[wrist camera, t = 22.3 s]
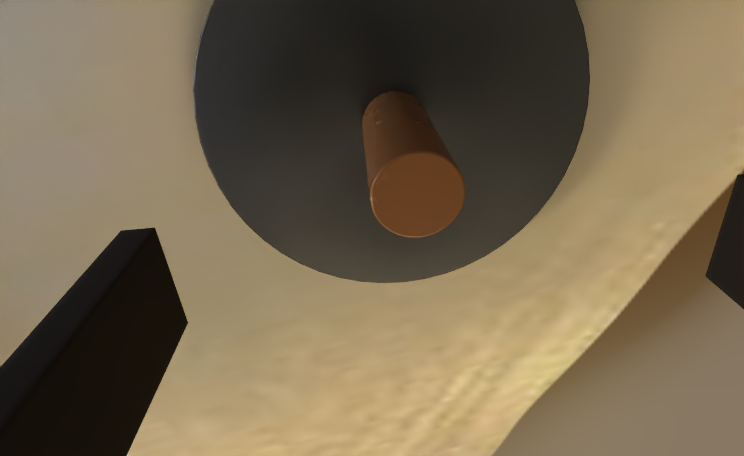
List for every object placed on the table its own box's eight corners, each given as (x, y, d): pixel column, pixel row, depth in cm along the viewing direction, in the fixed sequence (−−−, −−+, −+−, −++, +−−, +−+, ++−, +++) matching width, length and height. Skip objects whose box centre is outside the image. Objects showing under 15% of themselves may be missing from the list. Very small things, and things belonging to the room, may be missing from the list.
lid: (159, 200, 23) (65, 317, 15) (279, -215, 16) (217, -390, 8) (457, 309, 27) (502, 443, 19) (658, 18, 20) (853, 48, 12)
